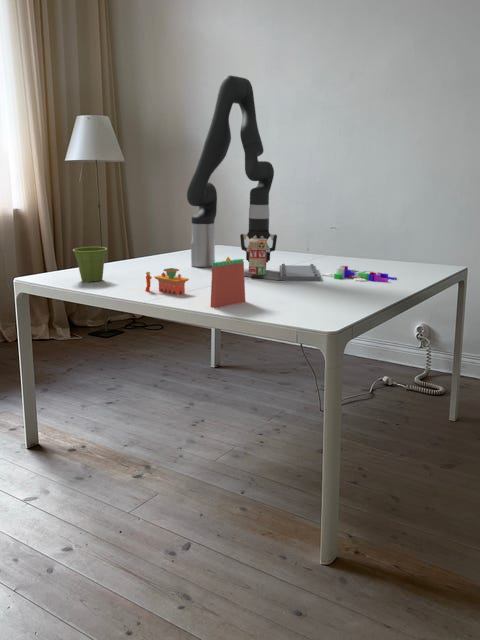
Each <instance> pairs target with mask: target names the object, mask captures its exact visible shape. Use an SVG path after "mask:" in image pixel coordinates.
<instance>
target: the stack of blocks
mask: <svg viewBox="0 0 480 640" xmlns="http://www.w3.org/2000/svg"><path fill="white" fill-rule="evenodd" d="M248 243H249V244H248V246H249V262H248V276H266V274H267V262H266V253H267V244H268V240H267V239H266V238H264V239H261V238H251V239H249V242H248Z"/></svg>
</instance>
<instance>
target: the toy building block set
mask: <svg viewBox="0 0 480 640" xmlns="http://www.w3.org/2000/svg"><path fill="white" fill-rule="evenodd" d="M244 260H245V259H243V258H237V259H231V258H230V257H229V256H227V257H226V258H225V260H222V261H215V262H214V263H213V266H211V286H210V305H209V307H210V308H213V307H214V309H217V308H216V307H218V308H222V307H221V306H223V307H227V306H232V305H236V304H241V303H245V302H246V286H245V282H246V281H245V265H244V263H245V262H244ZM179 271H180V269H179V268H176V267H175V268H173V267H169V268H165V269H163V272H162V273H161V274H160V275H156V276H153V277H152V275H151V272H150V271H146V272H145V274H146V276H145V279H146V281H145V283H146V287H145V292H150V289H151V280H152V278H154V279H155V280H157V281H158V292H162V293H167V294H171V295H176V296H179V295H180V294H181V295H185V291H186V288H185V286H186V285H185V283H186V282H188V281H189V280H190V278H187V277H182V275H181V274H180V273H178V272H179ZM177 273H178V274H177ZM176 274H177V276H176ZM226 305H227V306H226Z"/></svg>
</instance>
